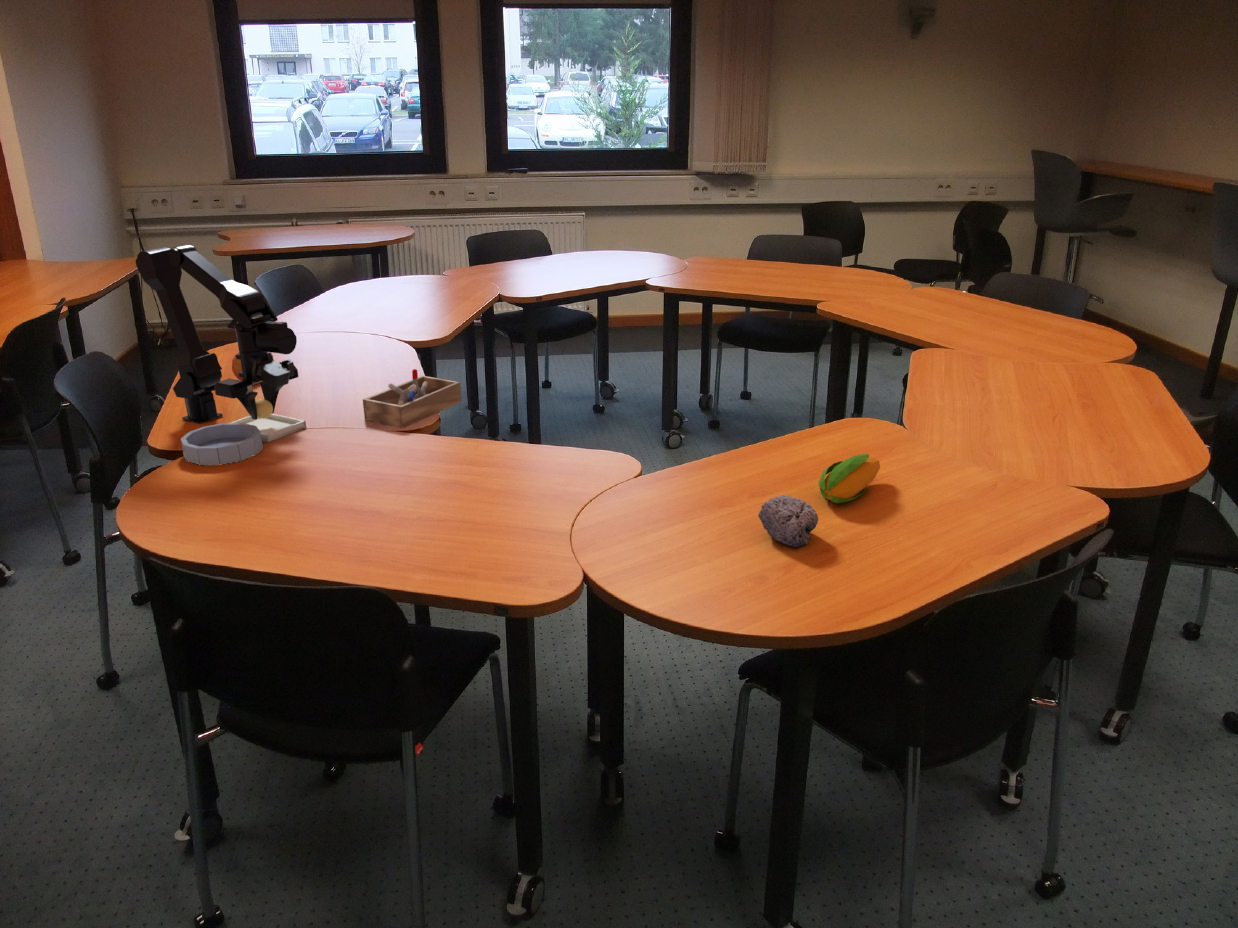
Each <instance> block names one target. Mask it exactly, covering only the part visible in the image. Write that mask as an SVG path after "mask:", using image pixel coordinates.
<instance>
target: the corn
mask: <svg viewBox="0 0 1238 928" xmlns="http://www.w3.org/2000/svg"><path fill="white" fill-rule="evenodd" d="M880 469H881V465H880V460H879V459H876V458H875V457H873V456H870V455H869V453H864V454H856V455H853V456H851V457H849V458H847V459H845V460H840V461H837V462H834V463H833V464H831V465H829V466H828V467H826V468H825V469H824V470H823V471H822V473H821V476H820V477H819V481H818V486H819V487H818V488H819V492H820V495H821V496H822V498H824V500H825V501H830V502H831V503H834V504H836V505H838V504H842V503H847V502H850V501H853V500H855V499H857V498H859V496H861V495H863V494H864V493H865V492H866V491H868V490H869V489H870V488H871V486H869V485H870V484H872V482H873V481H874V479H875V478H876V476H877V474H878V472H879V471H880ZM867 486H868V487H867Z"/></svg>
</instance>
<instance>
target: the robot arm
mask: <svg viewBox="0 0 1238 928" xmlns="http://www.w3.org/2000/svg"><path fill="white" fill-rule="evenodd" d="M135 266H136V268H137V270H138V272H139V274H140V276H141V279H142V281H144V283H146V285H148V286H149V287H150V288H151V289H153V291H155V293H156V295H157V297H158V300H159V303H160V304H161V308H162V312H163V313H164V316H165V319H166V321H167V324H168V326H169V328H170V331H171V334H172V336H173V339H174V342H175V343H176V347H177V349H178V352H179V359H178V364H177V370H178V373H179V379H178V380H177V381H176V383H175V385H174V386H173V387H172V389H173V393H174V395H175V397H176V398H180V399H181V398H182V399H184V404H185V408H186V413H187V415H185V416H183V417H181V418H182V420H183V421H186V422H191V423H195V424H204V423H208V422H211V421H212V420H213V421H214V420H216V419H218V418H221V417H223V416H224V415H223V413H219V412H218V411H217V404H216V400H215V396H219V397H222V398H223V397H224V398H228V399H237V400H238V401H239V402H240V404H241V405H242V406H243V408H244V409H245V411H246V412H247V413H248V416H251V417H252V419H254V420H257V409H256V402H255V401H256V397H257V395H259V394H258V393H259V392H257V391H254V388H253V386H256V385H260V388H261V391H262V396H263V399H265V400H268V401H269V402H270V403H271V404H272V406H273V412H272V414H275V409H276V404H277V400H278V396H279V393H280V390H282V388H283V387H284V386H287V385H288V384H289V381H291V380H294V379H297V378H299V371H298V368H297V367H296V366H295V364H294V361H293V360H291V359H289V358H288V359H285V360H282V361H275V360H274V355H273V353H274V354H280V355H289V354H291V353H293V352H294V351H295V349H296V347H297V335H296V334H295V332H294V330H293V329H292V328H290V327H289V326H288V323H287V321H278V317H277V316H276V315H275V312H274V311H273V310H272V309H271V306H269V304H268V303H267V301H266V300H265V298H264V296H263V294H262V293H261V292H260V291H259V290H257V289H255V288H253V287H251V286H249V285H247V284H246V283H245V284H244V283H240V282H237V281H235V280H234V279H232V278H231V277H229V276H228V275H227V274H225V273H224V272H223V271H222V270H220V269H219V268H218V267H217V266H215V265H214V264H213V263H212V262H210V261H209V260H208V259H207V258H206V257H205V256H203V255H202V254H200V252H198V250H197V248H196V247H195V246H193V245H190V244H185V245H180V246H174V247H171V248H170V247H167V246H166V247H165V246H164V247H158V248H153V249H146V250H142V251H139V252H138V254H137V257H136V259H135ZM183 271H184V272H186V273H187V274H188V275H189V276H190V277H192V278H193V279H194V280H195V281H197V282H198V283H199V284H200V285H202V287H204V288H205V289H207V290H208V291H209V292H210V293H211V294H212V295H214V296H215V297H216V298H217V299H218V301H219V305H220V307H221V309H222V310H223V311H224V312H225V313H226V314H227V315H228V316H229V318H231V319H232V320H231V321H230V322H229V323H228V324H227V329H231V330H235V336H236V340H237V341H236V342H237V348H238V353H239V354H238V353H236V354H235V355H236V359H239V360H240V361H241V367H242V372H239V377H242V378H244V379H243V380H239V379H234V378H227V379H223V380H221V379H222V377H223V374H222V370H223V368H222V366H221V365H220V362H219V360H218V356H217V354H216V353H215V352H212V353H210V352H209V351H207V350H206V349H205V348H204V346H203V345H202V342H201V339H200V335H199V334H198V331H197V328H196V326H195V323H194V320H193V318H192V315H191V312H190V310H189V307H188V305H187V302H186V299H185V296H184V294H183V291H182V289H181V280H182V275H183ZM251 381H252V382H251ZM214 392H215V394H214ZM214 395H215V396H214Z"/></svg>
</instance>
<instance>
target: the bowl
mask: <svg viewBox="0 0 1238 928" xmlns="http://www.w3.org/2000/svg"><path fill="white" fill-rule="evenodd" d="M180 443H181V447H182V454H183V457H184V460H185V461H186V462H187V461H189V462H192V463H197V464H200V465H205V466H221V465H220V464H225V463H230V464H233V463H232V462H235V463H237V462H236V461H240V462H243V461H245V460H244V459H246V458H248V459H250V458H252V457H251V456H252V455H255V456H257V455H258V454H259V453H260V452H261V451H262V450H263V447H264V446H263V441H262V440H261V434H260V431H259V429H258V428H257V427H256V426H254V425H249V424H245V423H231V422H224V423H217V424H211V425H207V426H202V427H199V428H197V429H194V430H191V431H188V432H186V434H184V435H183V437H181V438H180ZM260 450H261V451H260ZM259 451H260V452H259ZM258 452H259V453H258ZM257 453H258V454H257ZM256 454H257V455H256ZM249 457H250V458H249ZM242 460H243V461H242ZM246 460H247V459H246ZM189 462H188V463H189ZM192 463H191V464H192ZM209 464H210V465H209ZM218 464H219V465H218ZM200 465H199V466H200ZM225 465H226V464H225Z"/></svg>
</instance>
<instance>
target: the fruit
mask: <svg viewBox="0 0 1238 928" xmlns="http://www.w3.org/2000/svg"><path fill="white" fill-rule="evenodd" d="M237 354H239V352H238V353H237ZM231 370H232V373H233V375H234V376H235V378H236V379H237V380H243V379H244V378H242V377H239V372H242V367H241V361H240V360H239V359H236V354H235V355H234V356H233V359H232V361H231ZM251 382H252V381H251Z"/></svg>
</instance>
